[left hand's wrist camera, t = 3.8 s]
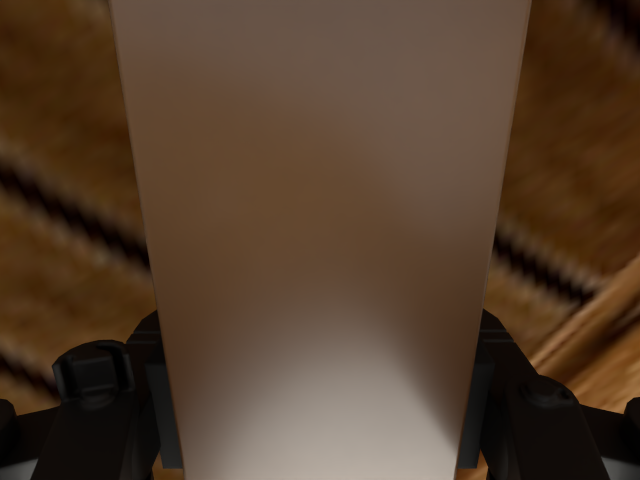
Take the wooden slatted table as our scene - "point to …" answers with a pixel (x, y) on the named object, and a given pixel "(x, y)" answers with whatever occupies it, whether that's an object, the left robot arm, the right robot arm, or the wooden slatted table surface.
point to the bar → (319, 222)
